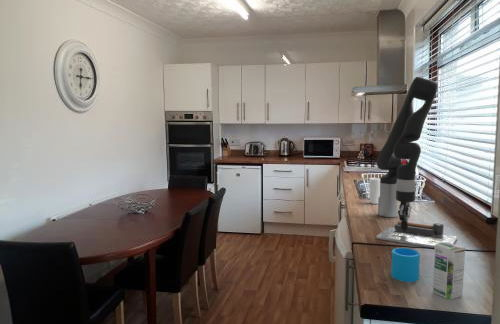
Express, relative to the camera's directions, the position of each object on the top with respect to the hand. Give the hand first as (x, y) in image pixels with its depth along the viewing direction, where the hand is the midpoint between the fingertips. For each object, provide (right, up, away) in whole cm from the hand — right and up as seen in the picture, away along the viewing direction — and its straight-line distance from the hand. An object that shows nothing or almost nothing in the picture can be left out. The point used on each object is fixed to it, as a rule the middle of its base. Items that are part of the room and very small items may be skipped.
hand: (404, 229), depth 164 cm
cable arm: (+7, -1, +3) cm, 8 cm away
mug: (-16, -8, -40) cm, 44 cm away
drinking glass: (+9, +4, +66) cm, 66 cm away
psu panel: (+4, -3, -3) cm, 6 cm away
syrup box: (-10, -9, -54) cm, 56 cm away
